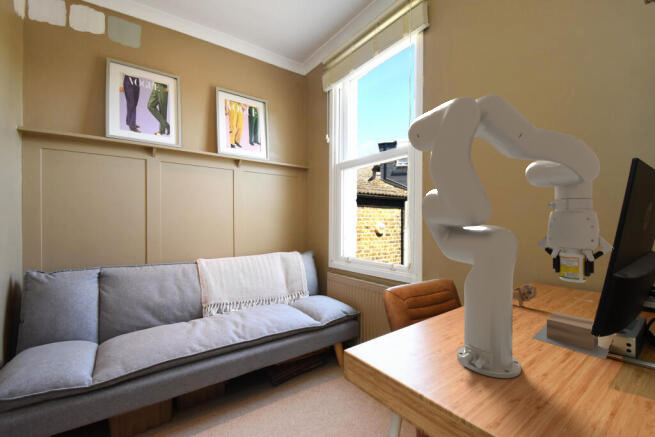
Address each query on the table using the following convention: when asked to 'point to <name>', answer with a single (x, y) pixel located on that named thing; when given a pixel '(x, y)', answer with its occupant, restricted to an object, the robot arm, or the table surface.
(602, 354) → the base plate
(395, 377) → the table surface
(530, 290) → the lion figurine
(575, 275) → the supplement bottle
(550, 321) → the walnut block
